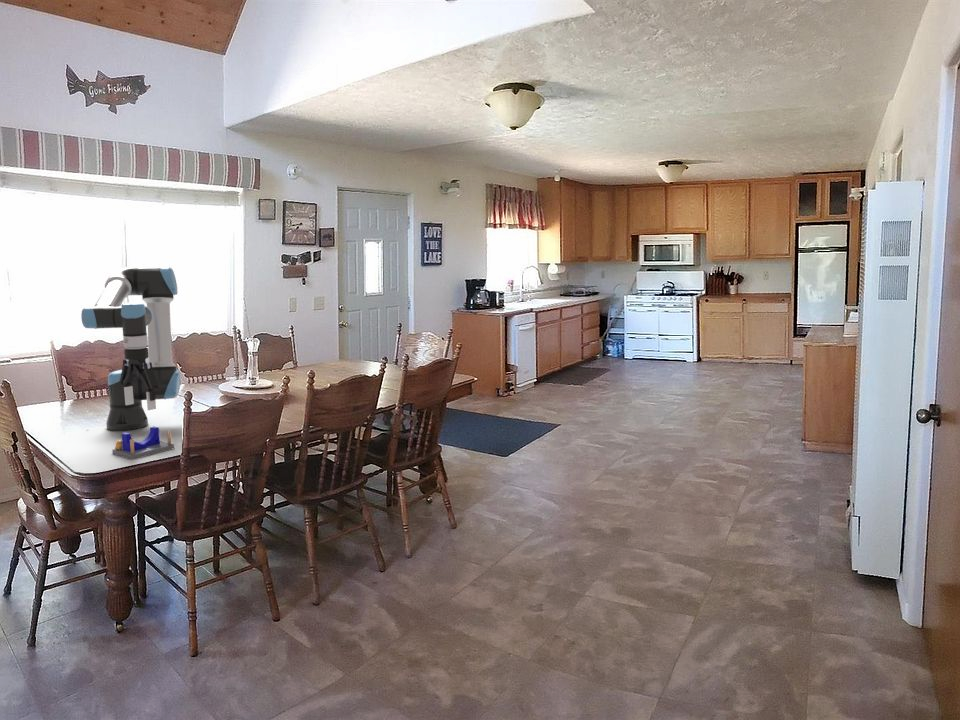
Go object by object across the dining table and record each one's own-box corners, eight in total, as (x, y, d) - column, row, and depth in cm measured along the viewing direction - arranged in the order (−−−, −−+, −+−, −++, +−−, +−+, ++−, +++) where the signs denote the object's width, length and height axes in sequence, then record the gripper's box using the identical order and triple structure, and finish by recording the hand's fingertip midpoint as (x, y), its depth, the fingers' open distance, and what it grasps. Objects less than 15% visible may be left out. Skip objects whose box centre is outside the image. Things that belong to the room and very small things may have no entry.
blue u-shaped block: (129, 451, 248) (128, 435, 247) (122, 449, 250) (121, 433, 249) (162, 444, 257) (161, 428, 257) (155, 442, 260) (154, 426, 259)
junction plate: (112, 453, 251) (111, 435, 250) (154, 443, 264) (153, 426, 263) (132, 459, 244) (130, 440, 243) (174, 448, 258) (173, 430, 257)
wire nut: (113, 447, 251) (114, 440, 250) (120, 447, 253) (121, 439, 252) (117, 449, 249) (118, 442, 249) (123, 449, 251) (125, 441, 251)
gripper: (105, 345, 252) (110, 404, 256) (146, 351, 239) (151, 413, 242) (126, 343, 258) (130, 400, 262) (167, 349, 245) (171, 409, 248)
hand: (140, 407), depth 252 cm, fingers open, 13 cm apart
